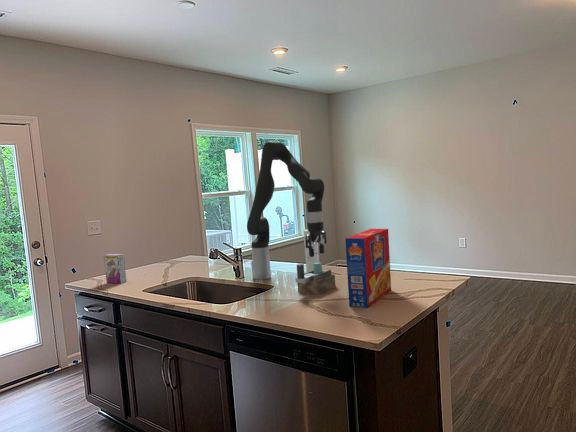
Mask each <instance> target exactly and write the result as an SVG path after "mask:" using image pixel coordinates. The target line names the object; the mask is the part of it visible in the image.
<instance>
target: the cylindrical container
mask: <svg viewBox="0 0 576 432" xmlns="http://www.w3.org/2000/svg"><path fill="white" fill-rule="evenodd" d="M306 235H310V232H309V231H308V228H307V229H306V228H305V229H304V230H303V238H304V239H303V241H304V255H305V270H306V271H305V273H306V272H309V271H311V270H314V266H313V263H320V257H319V256H320V252H319V243H318V242H317V243H316V245H314V248H313V249H314V257H310V256H309V249H308V248H306V240H305V236H306ZM311 242H312V241H311ZM308 245H309V243H308ZM311 246H312V245H311Z"/></svg>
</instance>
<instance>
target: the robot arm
mask: <svg viewBox="0 0 576 432" xmlns="http://www.w3.org/2000/svg"><path fill="white" fill-rule="evenodd" d="M260 159H261V160H260V168H259V173H258V178H257V183H256V188H255V192H254V198H253V202H252V204H251V205H252V206H251V210H250V213H249V216H248V218H247V222H246V223H247V224H246V231H247V233H248V234H249V236H256V238H254V240H252V241H251V254H252V255H251V256H252V260H251V274H252V279H254V280H256V279H257V280H258V281H263V280H268V279H270V278H271V277H272V273H271V262H270V261H271V260H270V248H269V247H270V245H269V243H270V224H269V220H268V219H267V217H265V216H262V214H263V212H264V210H265V209H266V208H267V206H268V204H269V203H271V200H272V198H273V195H274V192H275V190H274V189H275V184H276V183H275V180H274V177H273V174H272V173H273V172H272V166H273V161H281V162H282V163H284V164H285V165H286V167H287V171H288V173H289V175H290V176H291V177H292V178H293V179H294V180H295V181H296V182H297V183H298V185H299V187H300V188H301V190H302V191H303V192H304V193H305V194H307V195H311V198H310V199H307V201H306V211H307V213H306V222H307V223H306V225H307V226H306V227H307V229H308V231H309V232H310V235H306V236H305V240H306V248H308V249H309V256H310V257H314V249H313V248H314V245H316V243H317V242H318V251H319V252H318V253H319V254H325V244H327V241H328V240H327V232H326V231H324V216H323V215H324V214H323V204H322V203H323V202H322V201H323V199H324V193H325V184H324V181H323V179H321V178H318V177H317V178H310V176H311V174H310V172H309V171H308V170H307V169H306V168H305V167H304V166H303V165H302V164H301V163H300V162H299V161H298V160H297V159H296V158H295V157H294V155H293V154H292V153H291V151H290V150H289V149H288V147H287V146H286V145H285V144H284V143H283V142H281V141H267V142H265V143H264V144H263V146H262V151H261V158H260ZM311 241H312V242H311ZM308 243H309V245H308ZM311 245H312V246H311Z"/></svg>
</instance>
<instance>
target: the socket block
mask: <svg viewBox="0 0 576 432" xmlns="http://www.w3.org/2000/svg"><path fill="white" fill-rule="evenodd" d="M307 273H310V274H314V270H311V271H309V272H306V271H305V272H304V275H305V274H307ZM296 283H297V282H296ZM334 288H336V275H335V274H333V273H332V269H327V270H324V271H322V272H321V273H319V274H316V275H313V280H311V281H309V282H306V283H297V292H300V293H308V294H316V295H321V294H323V293H326V292H327V291H329V290H332V289H334Z"/></svg>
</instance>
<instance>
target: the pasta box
mask: <svg viewBox="0 0 576 432" xmlns="http://www.w3.org/2000/svg"><path fill="white" fill-rule="evenodd" d="M389 239H390V238H389V228H370V229H369V228H368V229H366V230H364V231H362V232H359V233H356V234H353V235H350V236H347V237H345V240H344V241H345V254H346V256H345V257H346V274H347V285H348V286H347V288H348V305H349V306H348V307H351V308H353V307H354V308H360V307H362V308H361V309H369V308H370V307H372V306H373V305H374V304H376V303H377V302H378V301H379V300H381V299H382V298H383V297H385V296H386V295H387V294H388V293H390V292H391V291H392V281H391V262H390V261H391V259H390V258H391V257H390V240H389ZM389 291H390V292H389ZM385 294H386V295H385ZM384 295H385V296H384ZM381 297H382V298H381ZM380 298H381V299H380ZM376 301H377V302H376ZM372 304H373V305H372ZM371 305H372V306H371Z"/></svg>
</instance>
